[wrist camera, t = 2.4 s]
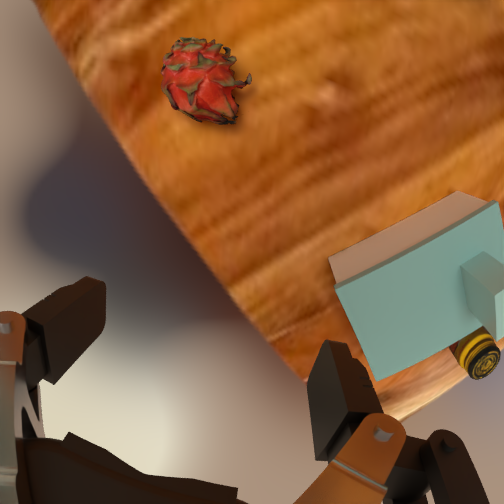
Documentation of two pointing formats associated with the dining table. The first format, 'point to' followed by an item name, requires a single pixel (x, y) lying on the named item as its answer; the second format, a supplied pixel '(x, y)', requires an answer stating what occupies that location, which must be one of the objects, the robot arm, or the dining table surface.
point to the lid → (430, 293)
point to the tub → (402, 235)
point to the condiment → (476, 353)
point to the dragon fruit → (201, 80)
